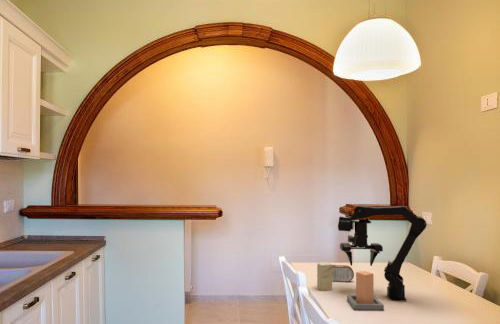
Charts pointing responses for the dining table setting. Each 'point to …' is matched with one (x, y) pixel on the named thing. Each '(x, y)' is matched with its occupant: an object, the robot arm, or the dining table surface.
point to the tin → (342, 273)
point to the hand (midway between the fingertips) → (361, 265)
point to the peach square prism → (364, 288)
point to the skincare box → (324, 276)
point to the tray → (374, 307)
